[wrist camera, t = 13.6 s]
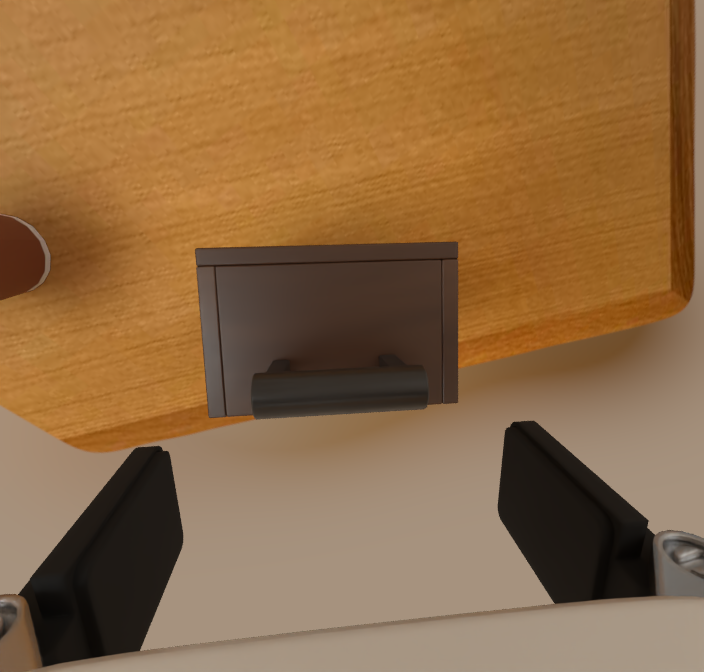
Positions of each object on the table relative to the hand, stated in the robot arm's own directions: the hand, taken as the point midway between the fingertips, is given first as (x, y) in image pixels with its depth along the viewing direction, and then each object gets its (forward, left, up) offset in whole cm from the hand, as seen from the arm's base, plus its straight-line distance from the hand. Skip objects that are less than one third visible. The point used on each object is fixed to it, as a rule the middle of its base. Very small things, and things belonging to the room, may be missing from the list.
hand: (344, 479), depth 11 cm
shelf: (-5, 0, -14) cm, 15 cm away
